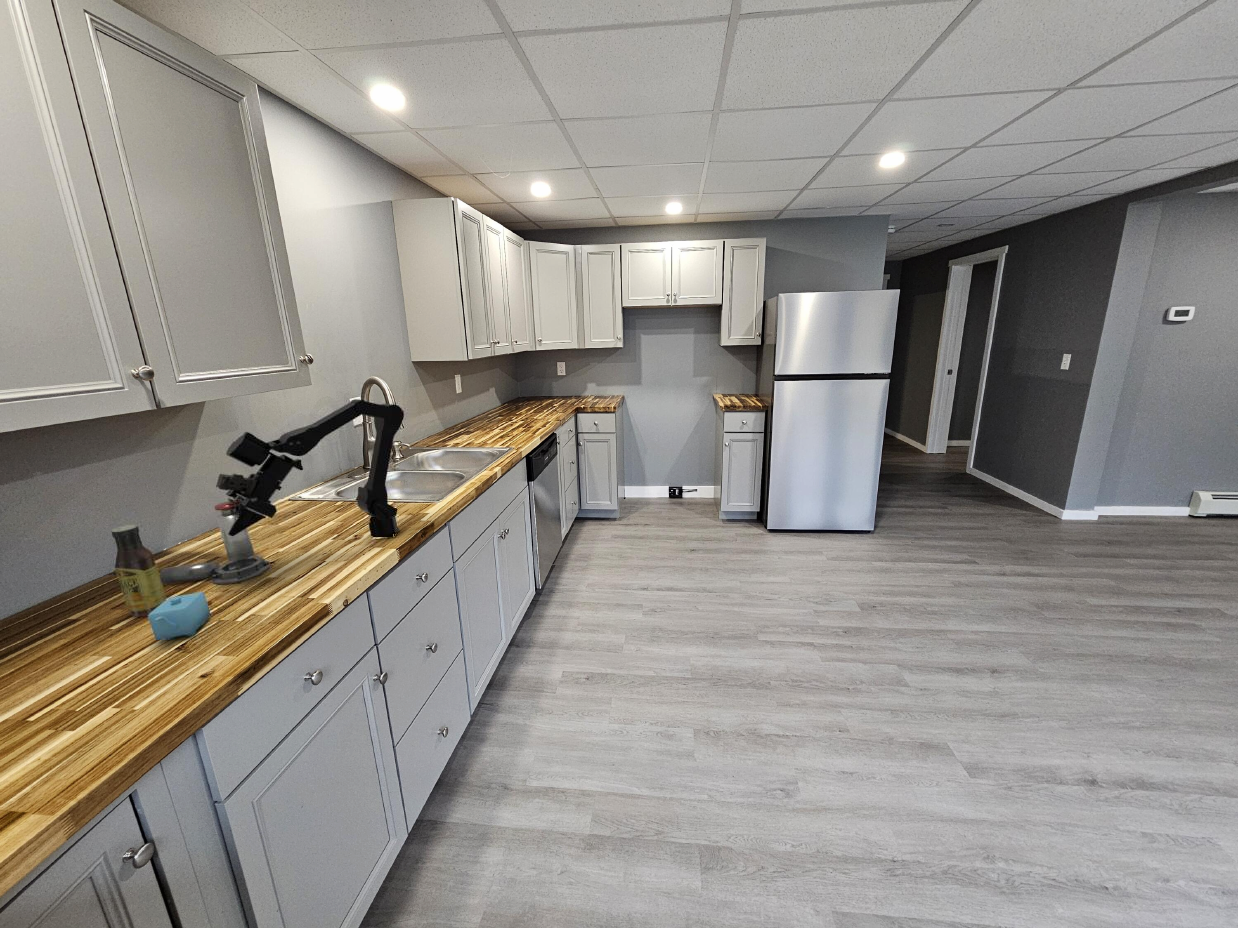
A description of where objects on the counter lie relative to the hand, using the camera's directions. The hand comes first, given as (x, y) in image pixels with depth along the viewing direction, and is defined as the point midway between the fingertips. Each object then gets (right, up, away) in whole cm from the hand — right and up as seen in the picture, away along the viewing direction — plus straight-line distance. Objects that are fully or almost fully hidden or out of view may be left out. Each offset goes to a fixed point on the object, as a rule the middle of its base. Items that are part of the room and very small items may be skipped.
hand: (227, 533), depth 115 cm
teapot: (+5, -18, -17) cm, 25 cm away
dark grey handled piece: (-9, -12, +8) cm, 17 cm away
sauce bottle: (-12, -17, -7) cm, 21 cm away
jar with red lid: (+1, -6, +3) cm, 7 cm away
